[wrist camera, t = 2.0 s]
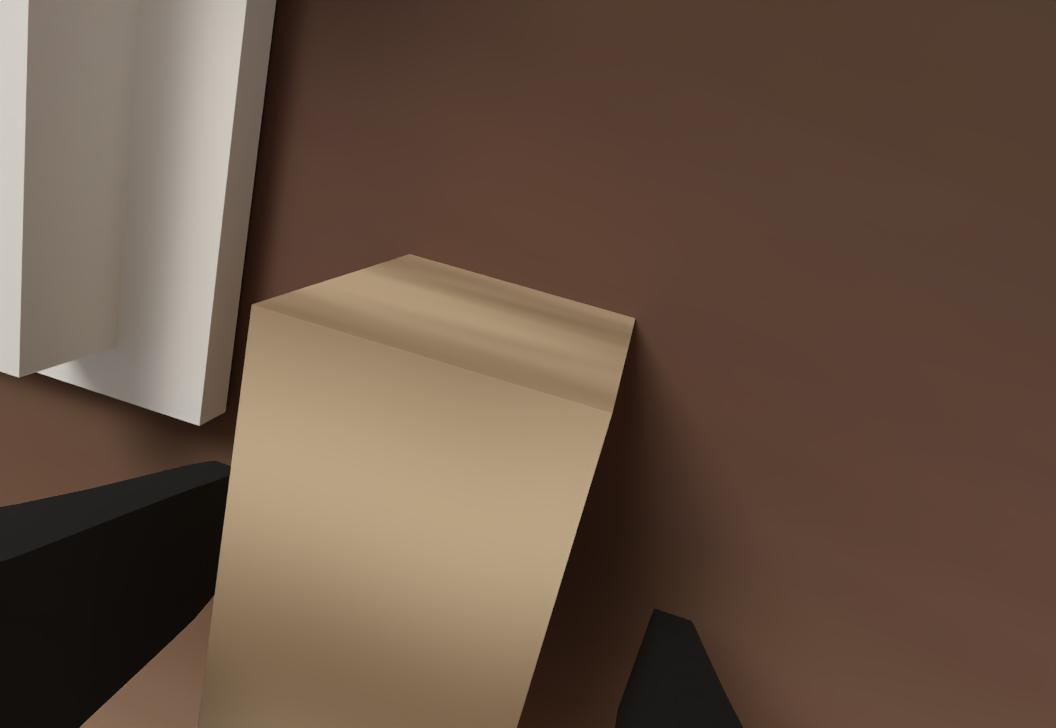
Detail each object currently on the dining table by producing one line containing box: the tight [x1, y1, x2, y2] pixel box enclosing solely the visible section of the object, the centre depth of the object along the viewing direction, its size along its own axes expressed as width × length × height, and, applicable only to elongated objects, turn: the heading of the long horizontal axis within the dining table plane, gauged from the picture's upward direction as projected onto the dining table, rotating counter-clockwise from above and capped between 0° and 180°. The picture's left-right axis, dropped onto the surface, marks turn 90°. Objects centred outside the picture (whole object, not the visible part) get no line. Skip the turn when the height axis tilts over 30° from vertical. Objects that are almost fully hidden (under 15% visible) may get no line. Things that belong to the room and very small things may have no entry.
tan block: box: [198, 254, 635, 728], centre depth 11 cm, size 10×4×5 cm, turn 166°
